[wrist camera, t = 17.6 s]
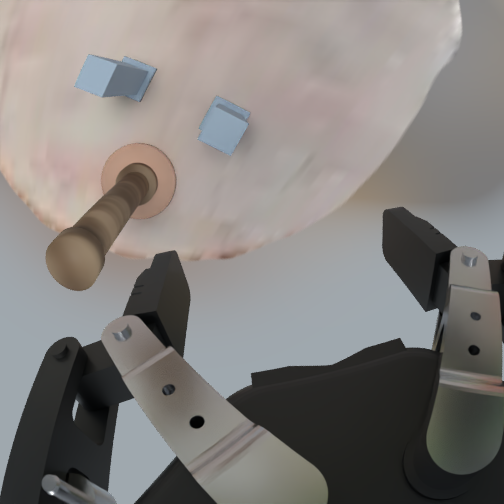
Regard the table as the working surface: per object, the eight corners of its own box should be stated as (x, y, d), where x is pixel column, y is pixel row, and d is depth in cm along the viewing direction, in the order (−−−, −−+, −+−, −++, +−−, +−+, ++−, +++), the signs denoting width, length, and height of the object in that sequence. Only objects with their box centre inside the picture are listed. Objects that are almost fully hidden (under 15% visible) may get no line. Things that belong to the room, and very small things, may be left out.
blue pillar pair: (250, 112, 38) (260, 121, 27) (231, 144, 40) (233, 166, 29) (125, 56, 32) (86, 45, 21) (109, 89, 34) (65, 91, 23)
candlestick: (151, 157, 39) (85, 224, 20) (162, 196, 42) (113, 290, 23) (113, 169, 39) (30, 241, 20) (125, 206, 42) (60, 299, 23)
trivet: (164, 133, 38) (163, 134, 38) (184, 207, 44) (183, 209, 43) (94, 156, 39) (91, 157, 38) (117, 223, 44) (115, 226, 43)
